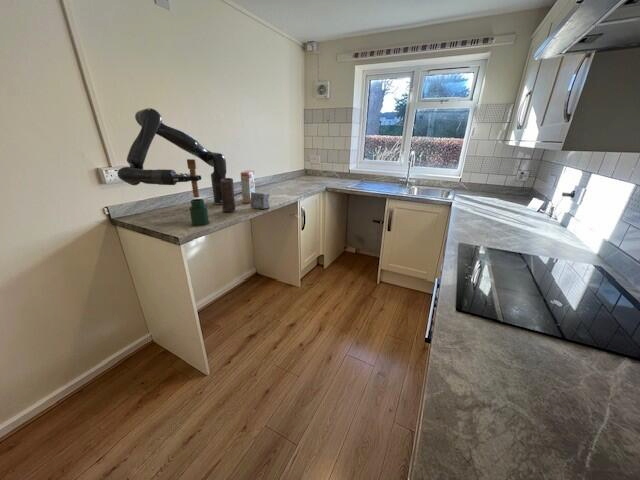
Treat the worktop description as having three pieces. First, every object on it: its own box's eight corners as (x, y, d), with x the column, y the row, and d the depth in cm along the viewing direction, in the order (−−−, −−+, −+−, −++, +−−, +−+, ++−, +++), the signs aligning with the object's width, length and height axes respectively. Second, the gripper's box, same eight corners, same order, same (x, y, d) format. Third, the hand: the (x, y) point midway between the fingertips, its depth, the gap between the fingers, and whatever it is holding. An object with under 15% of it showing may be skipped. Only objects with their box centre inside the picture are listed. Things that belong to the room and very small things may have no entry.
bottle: (201, 220, 143) (197, 197, 138) (212, 222, 140) (209, 199, 135) (188, 224, 136) (184, 200, 131) (200, 226, 133) (196, 202, 128)
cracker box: (251, 203, 180) (248, 172, 172) (242, 203, 180) (239, 172, 172) (256, 199, 193) (254, 170, 185) (248, 198, 193) (245, 170, 185)
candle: (238, 210, 162) (235, 178, 155) (230, 213, 156) (227, 180, 148) (228, 209, 164) (224, 177, 157) (220, 212, 158) (216, 179, 150)
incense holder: (270, 207, 171) (269, 191, 168) (263, 210, 164) (262, 194, 160) (257, 205, 174) (256, 190, 171) (250, 208, 167) (249, 192, 163)
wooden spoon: (193, 196, 133) (188, 159, 127) (201, 196, 134) (195, 159, 127) (191, 197, 131) (186, 159, 124) (199, 197, 131) (193, 159, 124)
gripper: (154, 171, 120) (192, 172, 121) (169, 167, 133) (204, 168, 134) (158, 187, 123) (195, 188, 124) (172, 182, 136) (206, 183, 137)
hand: (199, 178), depth 129 cm, fingers closed on wooden spoon, 2 cm apart
